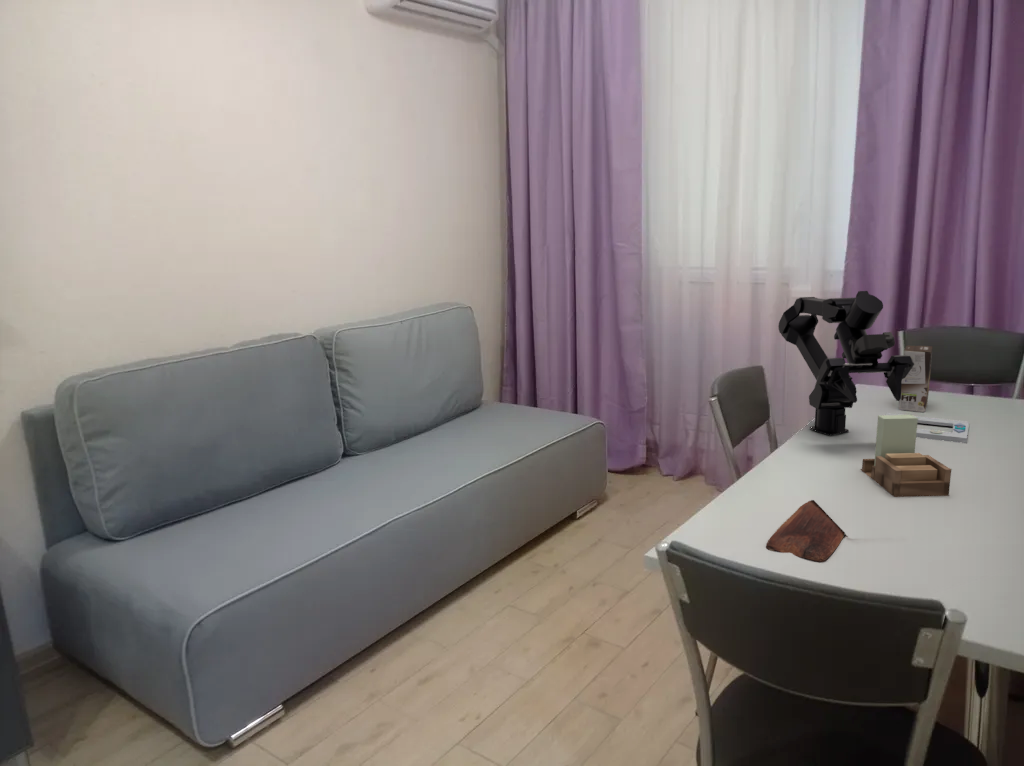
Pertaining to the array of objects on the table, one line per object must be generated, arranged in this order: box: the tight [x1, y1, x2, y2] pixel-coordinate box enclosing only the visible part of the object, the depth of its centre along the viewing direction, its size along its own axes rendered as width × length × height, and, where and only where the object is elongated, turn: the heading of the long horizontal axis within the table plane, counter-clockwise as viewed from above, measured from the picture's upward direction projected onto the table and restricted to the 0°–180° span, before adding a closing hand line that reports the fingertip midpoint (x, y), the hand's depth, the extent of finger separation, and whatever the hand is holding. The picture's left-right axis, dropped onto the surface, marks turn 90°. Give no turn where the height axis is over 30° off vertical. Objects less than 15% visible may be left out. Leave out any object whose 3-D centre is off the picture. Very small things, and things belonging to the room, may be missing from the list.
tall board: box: [874, 414, 918, 466], centre depth 148 cm, size 2×6×12 cm, turn 88°
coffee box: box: [898, 344, 934, 413], centre depth 198 cm, size 9×6×16 cm
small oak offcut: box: [896, 465, 937, 481], centre depth 140 cm, size 2×6×4 cm, turn 88°
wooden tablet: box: [766, 499, 846, 563], centre depth 129 cm, size 26×2×10 cm
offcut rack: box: [859, 454, 952, 498], centre depth 145 cm, size 15×10×6 cm, turn 178°
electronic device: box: [884, 412, 970, 444], centre depth 180 cm, size 18×2×15 cm
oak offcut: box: [885, 452, 926, 466], centre depth 144 cm, size 2×6×6 cm, turn 88°
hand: (877, 400), depth 158 cm, fingers open, 9 cm apart
